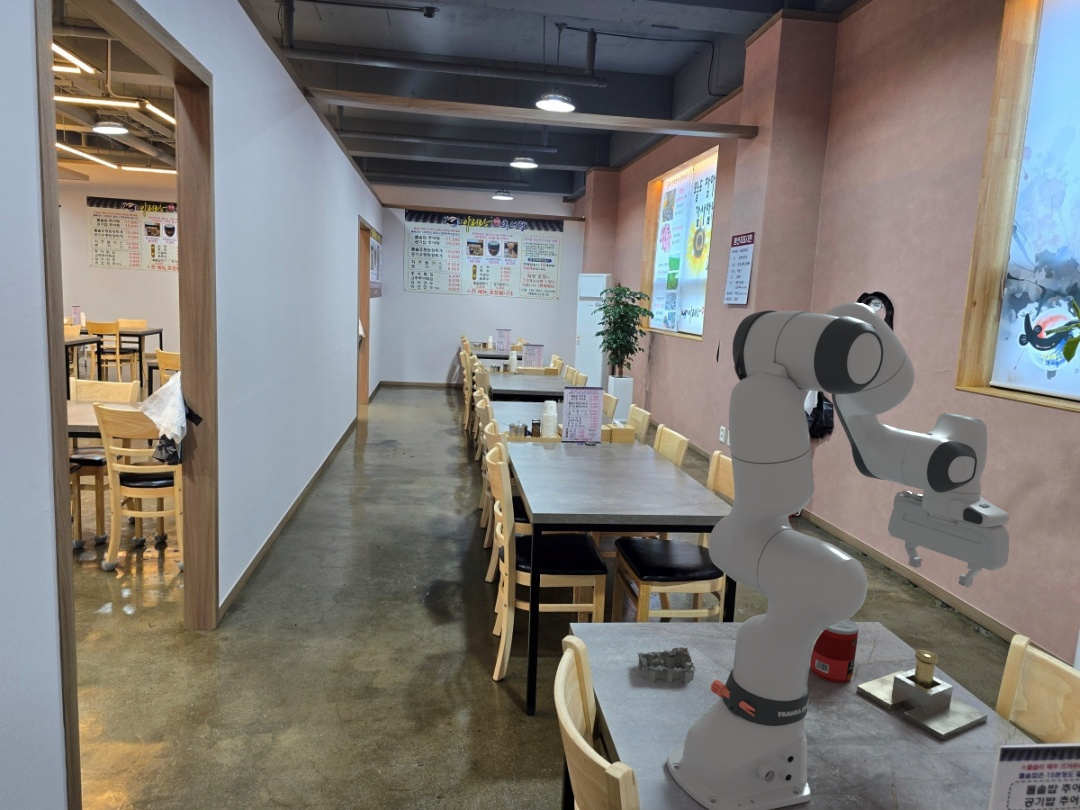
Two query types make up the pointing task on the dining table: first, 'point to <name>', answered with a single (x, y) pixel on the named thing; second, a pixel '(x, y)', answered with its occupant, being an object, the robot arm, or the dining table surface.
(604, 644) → the dining table surface
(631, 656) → the dining table surface
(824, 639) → the canned food
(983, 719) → the silver plate with socket
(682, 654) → the egg carton
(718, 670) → the dining table surface
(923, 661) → the hinge pin
